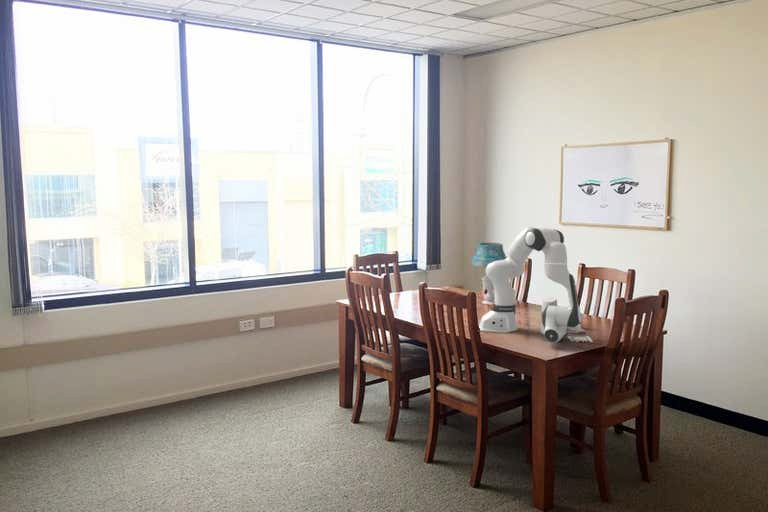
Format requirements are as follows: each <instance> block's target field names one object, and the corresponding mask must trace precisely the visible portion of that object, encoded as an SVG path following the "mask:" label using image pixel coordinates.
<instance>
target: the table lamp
mask: <svg viewBox="0 0 768 512" xmlns="http://www.w3.org/2000/svg"><path fill="white" fill-rule="evenodd" d="M507 257H508V256H506V253H505V251H504V245H503V243H501V242H479V243H478V246H477V251H476V252H475V255H474V256H473V258H472V262H471V265H472V267H477V268H485V269H486V267H487V265H488V264H490V263H492V262H494V261H498V260H504V259H506V258H507ZM481 281H482V286H483V288H484V289H485V290H486V291H487V292H486V294H485V295H484V299H485V300H484V301H482V304H483V305H487V306H488V305H489V306H490V303H493V304H494V303H495V294H493V291H495V290H494V286H493V283H492V281H491V280H490V279H489V278H488V277H487V275H486V271H485V272H484V276H483V277H481Z"/></svg>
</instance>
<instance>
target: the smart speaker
mask: <svg viewBox="0 0 768 512" xmlns="http://www.w3.org/2000/svg"><path fill="white" fill-rule="evenodd" d="M547 306H558V298H557V297H555V296H548V297H544V299H542V305H541V315H540V316H541V318H542V314H543V311H544V309H545V308H546V307H547Z"/></svg>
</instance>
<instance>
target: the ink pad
mask: <svg viewBox="0 0 768 512" xmlns="http://www.w3.org/2000/svg"><path fill="white" fill-rule="evenodd" d="M568 335H587V331H586V329H584V328H581V331H580V332H578V333H570V332H568Z"/></svg>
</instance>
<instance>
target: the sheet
mask: <svg viewBox="0 0 768 512" xmlns="http://www.w3.org/2000/svg"><path fill="white" fill-rule="evenodd" d="M566 337H567V338H568V339H570V340H569V341H570V342H571V341H576V342H579V341H582V342H583V343H588V342H587V341H590V342H589V343H593V342H594V341H593V340H592V339H591V338H590V336H581V335H579V336H578V335H577V336H574V335H573V336H571V335H568V336H566ZM584 341H586V342H584ZM582 342H581V343H582ZM579 343H580V342H579Z"/></svg>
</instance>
